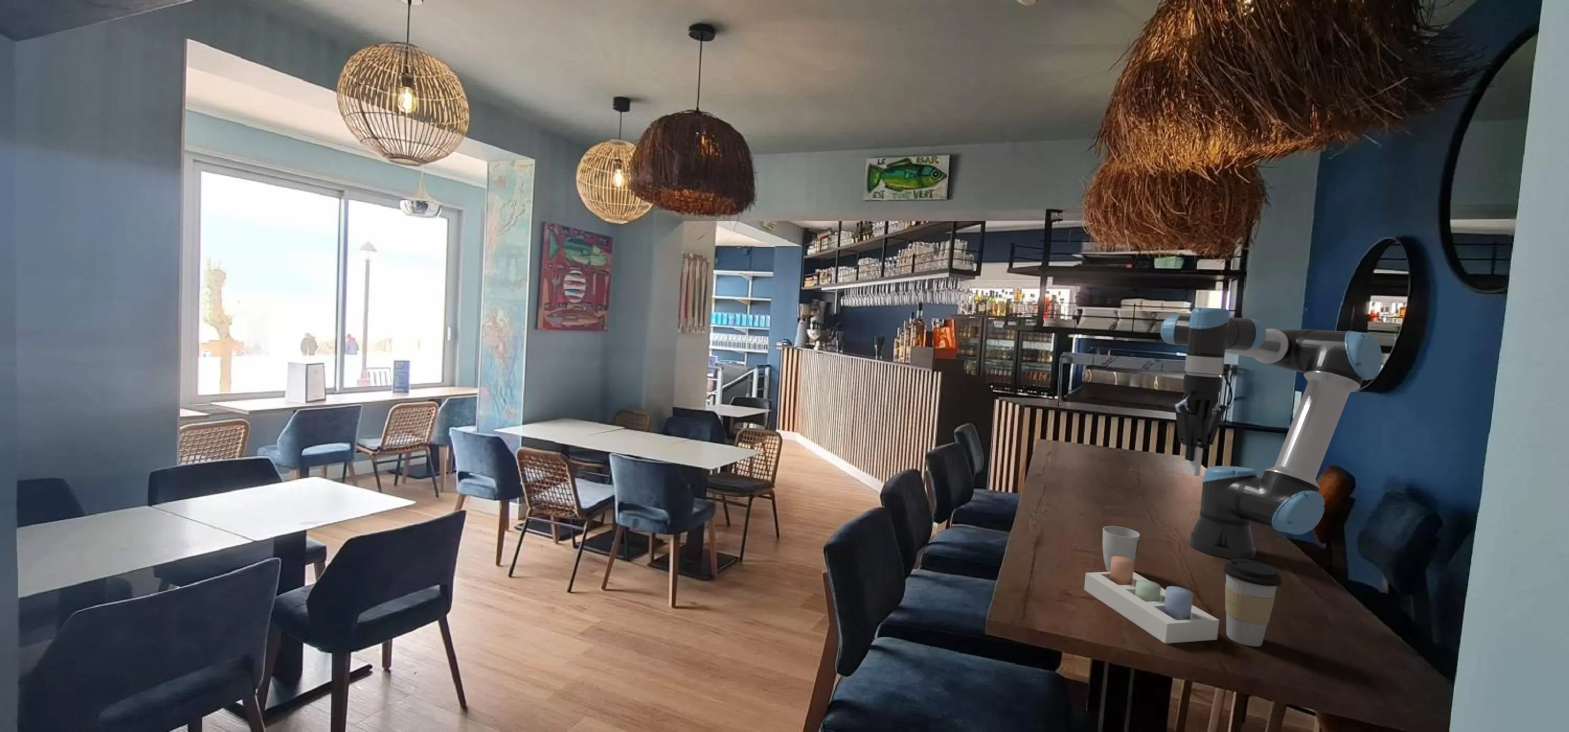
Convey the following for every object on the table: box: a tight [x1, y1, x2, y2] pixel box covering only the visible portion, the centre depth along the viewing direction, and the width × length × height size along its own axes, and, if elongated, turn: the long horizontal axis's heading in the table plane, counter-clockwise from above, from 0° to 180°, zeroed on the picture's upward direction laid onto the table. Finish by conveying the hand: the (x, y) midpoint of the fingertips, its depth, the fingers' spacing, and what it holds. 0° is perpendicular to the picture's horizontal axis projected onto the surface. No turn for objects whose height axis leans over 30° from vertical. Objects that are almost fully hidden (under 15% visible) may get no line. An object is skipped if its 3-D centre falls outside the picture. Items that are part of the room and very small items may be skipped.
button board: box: [1083, 571, 1220, 644], centre depth 140 cm, size 12×24×4 cm, turn 12°
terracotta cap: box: [1109, 556, 1135, 585], centre depth 148 cm, size 5×5×5 cm
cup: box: [1102, 525, 1141, 572], centre depth 163 cm, size 8×8×10 cm
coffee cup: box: [1222, 559, 1283, 647], centre depth 130 cm, size 9×9×15 cm
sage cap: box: [1135, 579, 1162, 602], centre depth 140 cm, size 5×5×5 cm
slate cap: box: [1164, 585, 1194, 620], centre depth 132 cm, size 5×5×5 cm
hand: (1192, 474), depth 155 cm, fingers closed
